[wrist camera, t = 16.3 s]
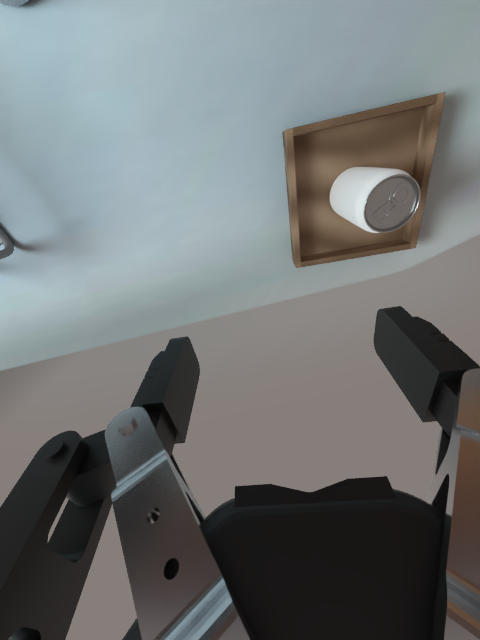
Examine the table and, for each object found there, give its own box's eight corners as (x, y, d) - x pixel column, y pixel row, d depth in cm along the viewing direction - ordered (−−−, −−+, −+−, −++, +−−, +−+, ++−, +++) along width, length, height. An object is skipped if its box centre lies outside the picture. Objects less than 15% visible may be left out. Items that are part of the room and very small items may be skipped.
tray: (282, 132, 33) (286, 129, 30) (426, 98, 31) (445, 91, 28) (292, 260, 43) (296, 267, 40) (403, 241, 41) (415, 247, 38)
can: (384, 187, 36) (438, 198, 25) (348, 225, 38) (384, 248, 28) (354, 155, 34) (400, 153, 23) (319, 197, 36) (346, 211, 26)
